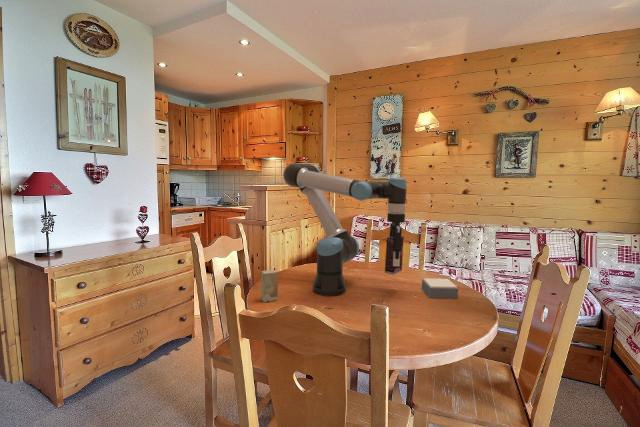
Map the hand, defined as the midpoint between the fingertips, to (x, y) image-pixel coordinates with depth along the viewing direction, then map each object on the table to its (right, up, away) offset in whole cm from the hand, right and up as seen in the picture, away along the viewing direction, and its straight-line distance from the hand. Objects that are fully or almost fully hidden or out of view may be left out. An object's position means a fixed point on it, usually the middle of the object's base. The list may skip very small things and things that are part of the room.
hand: (393, 262), depth 144 cm
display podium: (+20, -14, 0) cm, 24 cm away
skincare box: (-54, -14, -9) cm, 57 cm away
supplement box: (0, -4, 0) cm, 4 cm away
